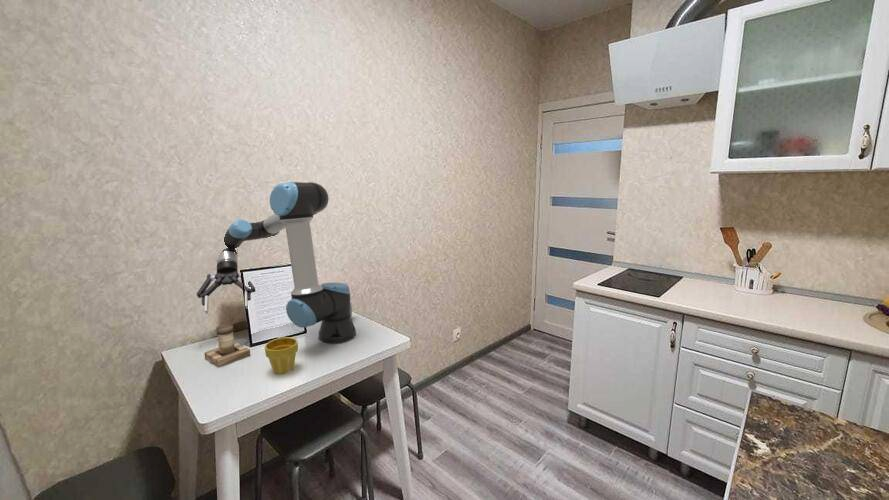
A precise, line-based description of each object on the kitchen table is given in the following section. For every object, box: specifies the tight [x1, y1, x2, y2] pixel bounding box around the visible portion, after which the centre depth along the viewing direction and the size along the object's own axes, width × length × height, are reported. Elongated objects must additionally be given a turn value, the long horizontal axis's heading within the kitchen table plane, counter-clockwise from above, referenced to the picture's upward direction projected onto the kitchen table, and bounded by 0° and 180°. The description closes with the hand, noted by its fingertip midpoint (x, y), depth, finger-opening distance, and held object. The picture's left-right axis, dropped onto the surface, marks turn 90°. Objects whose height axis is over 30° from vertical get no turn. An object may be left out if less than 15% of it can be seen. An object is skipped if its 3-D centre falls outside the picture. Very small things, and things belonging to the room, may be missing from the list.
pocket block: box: [203, 342, 251, 368], centre depth 134 cm, size 11×11×2 cm
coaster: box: [234, 338, 249, 346], centre depth 146 cm, size 7×7×1 cm
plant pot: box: [264, 336, 299, 375], centre depth 125 cm, size 10×10×10 cm
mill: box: [215, 323, 235, 356], centre depth 133 cm, size 5×5×12 cm
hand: (226, 309), depth 141 cm, fingers open, 13 cm apart
